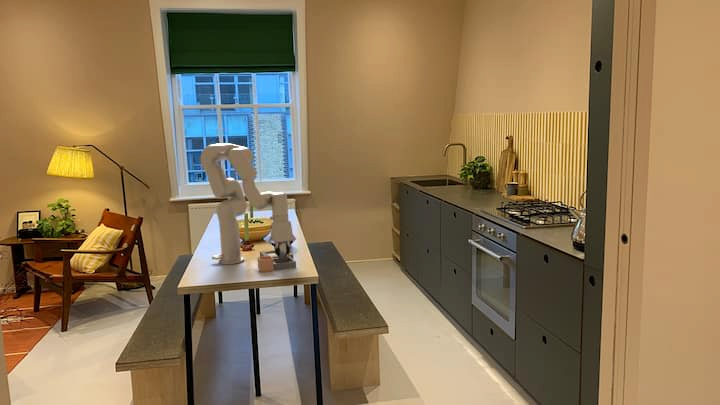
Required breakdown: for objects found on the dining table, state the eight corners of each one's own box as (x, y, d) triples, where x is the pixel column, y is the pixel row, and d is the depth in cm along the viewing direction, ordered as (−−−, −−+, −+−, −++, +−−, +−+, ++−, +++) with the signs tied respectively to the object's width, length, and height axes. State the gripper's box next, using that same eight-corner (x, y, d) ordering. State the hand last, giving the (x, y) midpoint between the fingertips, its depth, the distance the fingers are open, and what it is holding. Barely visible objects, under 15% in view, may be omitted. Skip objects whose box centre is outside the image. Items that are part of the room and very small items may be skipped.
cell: (279, 258, 261) (278, 241, 260) (277, 256, 265) (276, 239, 264) (288, 257, 263) (287, 240, 262) (285, 255, 267) (285, 238, 266)
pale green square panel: (270, 259, 273) (270, 257, 273) (265, 255, 281) (265, 253, 281) (287, 257, 276) (287, 255, 276) (282, 253, 285) (282, 251, 284)
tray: (274, 270, 258) (274, 264, 258) (269, 264, 268) (269, 259, 267) (296, 267, 262) (295, 261, 262) (289, 262, 272) (289, 256, 271)
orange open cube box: (261, 272, 255) (260, 260, 254) (257, 269, 260) (257, 257, 259) (274, 270, 257) (273, 258, 256) (270, 267, 263) (270, 255, 262)
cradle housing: (266, 263, 270) (266, 257, 269) (260, 257, 283) (259, 251, 282) (293, 260, 275) (293, 254, 275) (285, 254, 288) (285, 248, 288)
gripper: (265, 221, 254) (267, 258, 257) (299, 217, 261) (301, 254, 264) (261, 218, 261) (263, 255, 264) (295, 215, 268) (297, 251, 271)
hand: (282, 254), depth 264 cm, fingers closed on cell, 4 cm apart
